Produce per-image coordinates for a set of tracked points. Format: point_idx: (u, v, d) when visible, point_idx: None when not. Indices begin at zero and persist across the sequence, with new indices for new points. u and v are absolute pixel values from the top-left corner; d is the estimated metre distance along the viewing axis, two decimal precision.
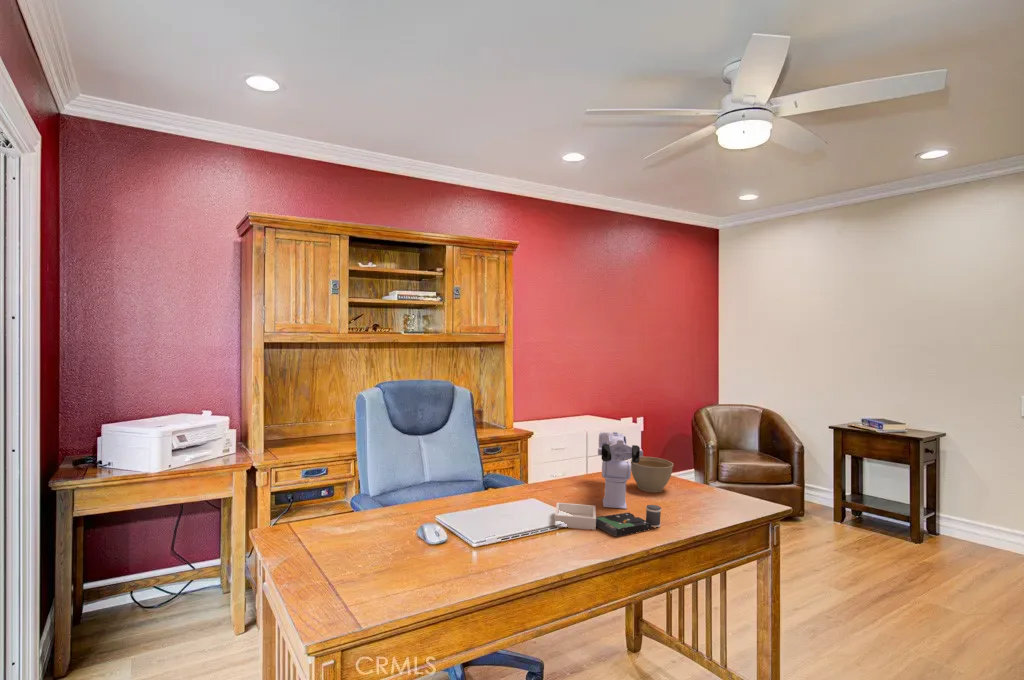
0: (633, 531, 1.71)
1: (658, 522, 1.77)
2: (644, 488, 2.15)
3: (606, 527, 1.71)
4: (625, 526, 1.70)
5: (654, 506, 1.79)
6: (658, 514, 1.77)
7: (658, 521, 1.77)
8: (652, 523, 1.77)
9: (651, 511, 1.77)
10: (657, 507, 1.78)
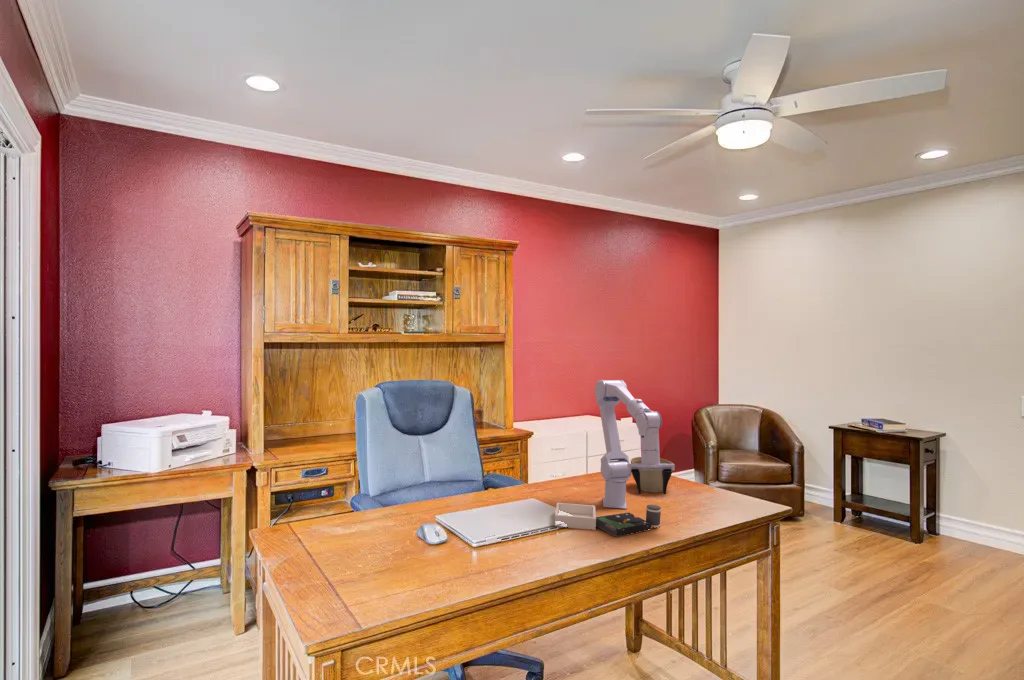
0: (633, 531, 1.71)
1: (658, 522, 1.77)
2: (644, 488, 2.15)
3: (606, 527, 1.71)
4: (625, 526, 1.70)
5: (654, 506, 1.79)
6: (658, 514, 1.77)
7: (658, 521, 1.77)
8: (652, 523, 1.77)
9: (651, 511, 1.77)
10: (657, 507, 1.78)
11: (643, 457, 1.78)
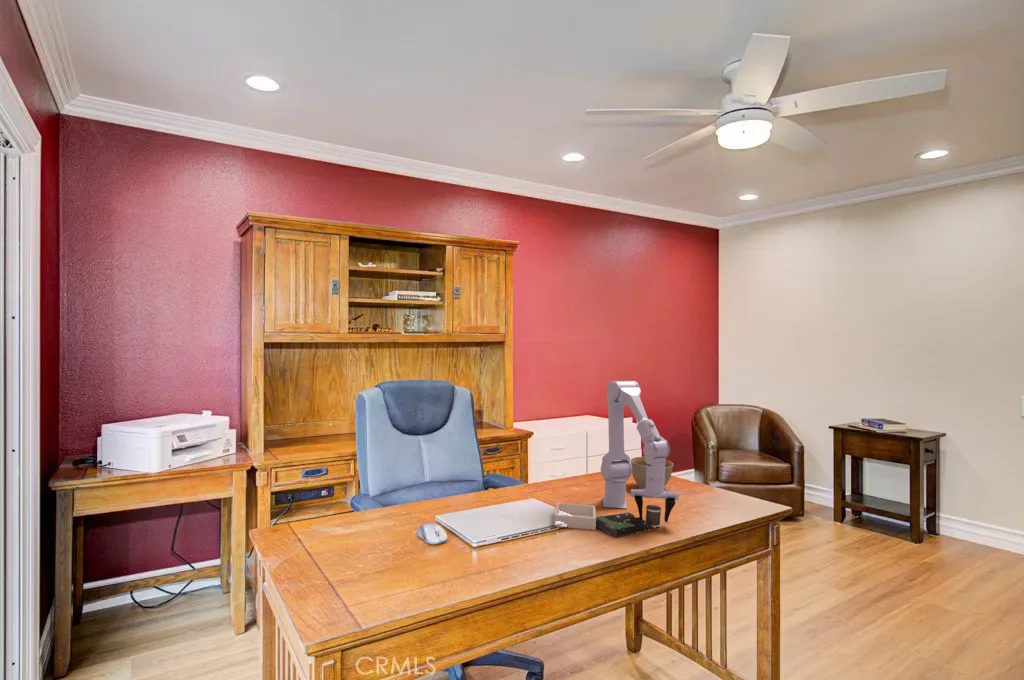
0: (633, 531, 1.71)
1: (658, 522, 1.77)
2: (644, 488, 2.15)
3: (606, 528, 1.71)
4: (625, 526, 1.70)
5: (654, 506, 1.79)
6: (658, 514, 1.77)
7: (658, 521, 1.77)
8: (652, 523, 1.77)
9: (651, 511, 1.77)
10: (657, 507, 1.78)
11: (648, 485, 1.77)
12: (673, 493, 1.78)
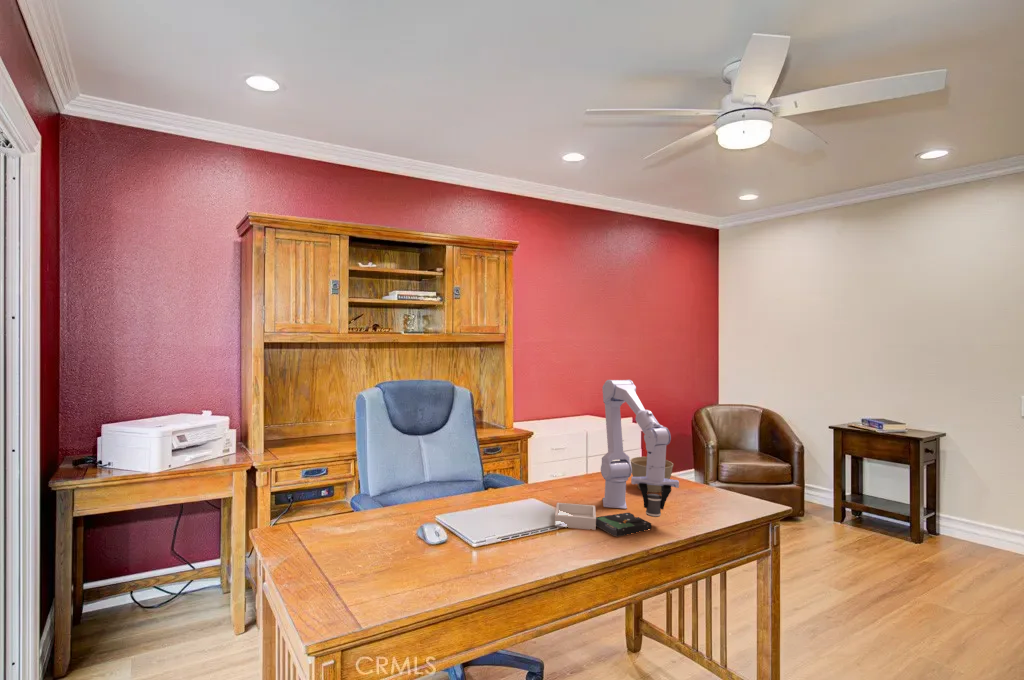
0: (633, 531, 1.71)
1: (658, 511, 1.77)
2: None
3: (606, 527, 1.71)
4: (625, 526, 1.70)
5: (654, 495, 1.79)
6: (658, 503, 1.77)
7: (658, 510, 1.77)
8: (652, 512, 1.77)
9: (651, 500, 1.77)
10: (657, 496, 1.78)
11: (648, 473, 1.77)
12: (673, 481, 1.78)
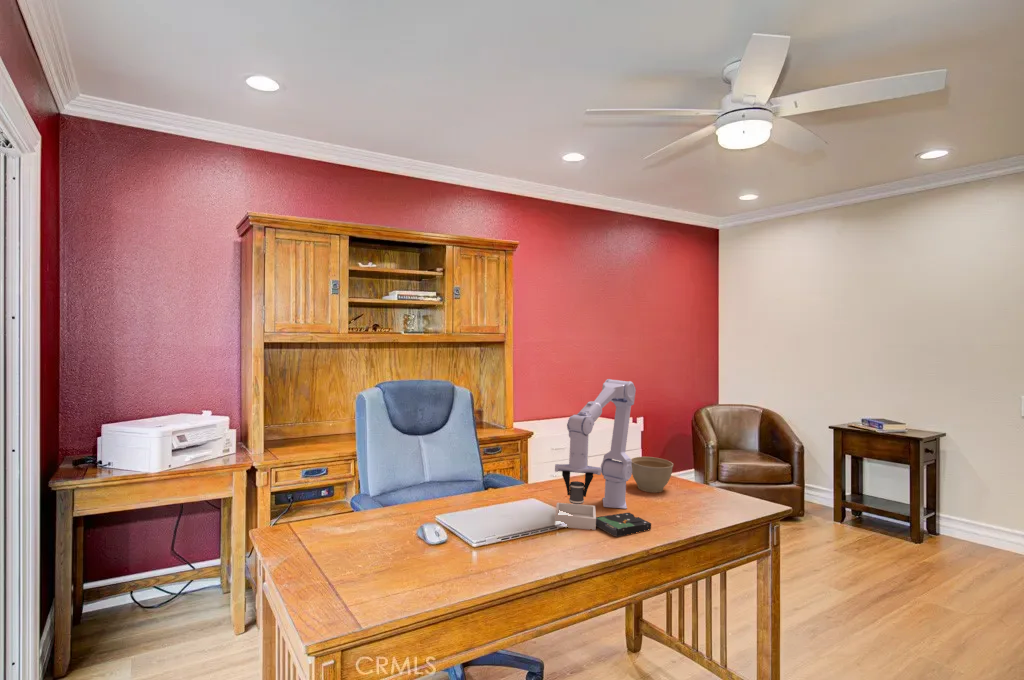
0: (633, 531, 1.71)
1: (581, 498, 1.78)
2: (644, 488, 2.15)
3: (606, 527, 1.71)
4: (625, 526, 1.70)
5: (578, 482, 1.80)
6: (581, 490, 1.78)
7: (581, 497, 1.78)
8: (575, 499, 1.78)
9: (573, 487, 1.78)
10: (580, 483, 1.79)
11: (570, 460, 1.78)
12: (596, 468, 1.79)
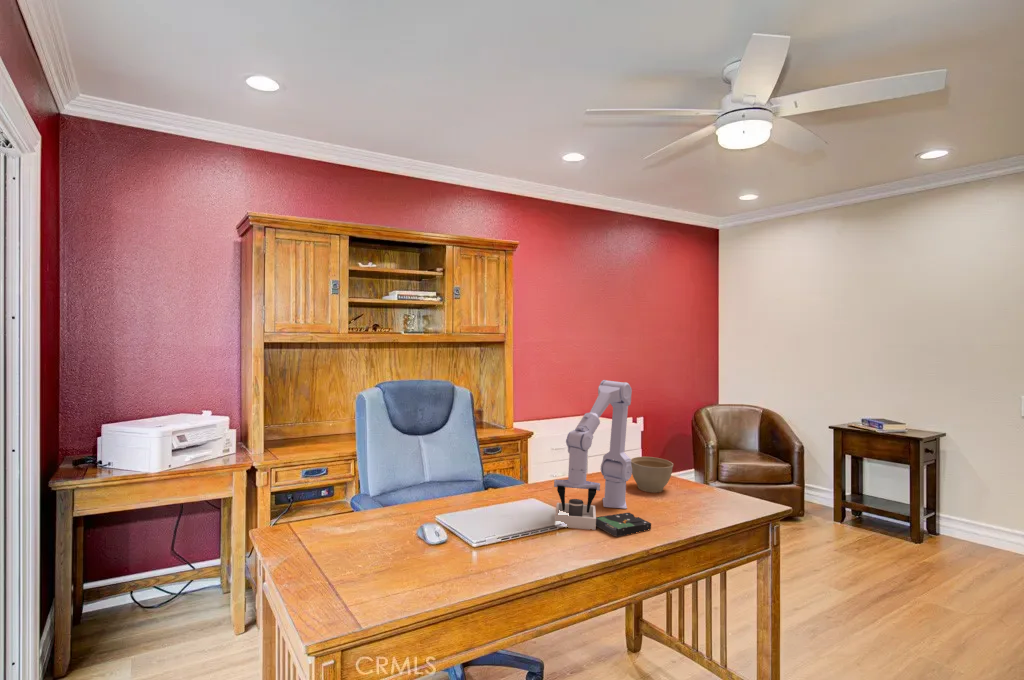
0: (633, 531, 1.71)
1: (580, 516, 1.78)
2: (644, 488, 2.15)
3: (606, 527, 1.71)
4: (625, 526, 1.70)
5: (577, 500, 1.80)
6: (580, 508, 1.78)
7: (580, 515, 1.78)
8: None
9: (572, 505, 1.78)
10: (579, 501, 1.79)
11: (569, 476, 1.78)
12: (595, 483, 1.79)
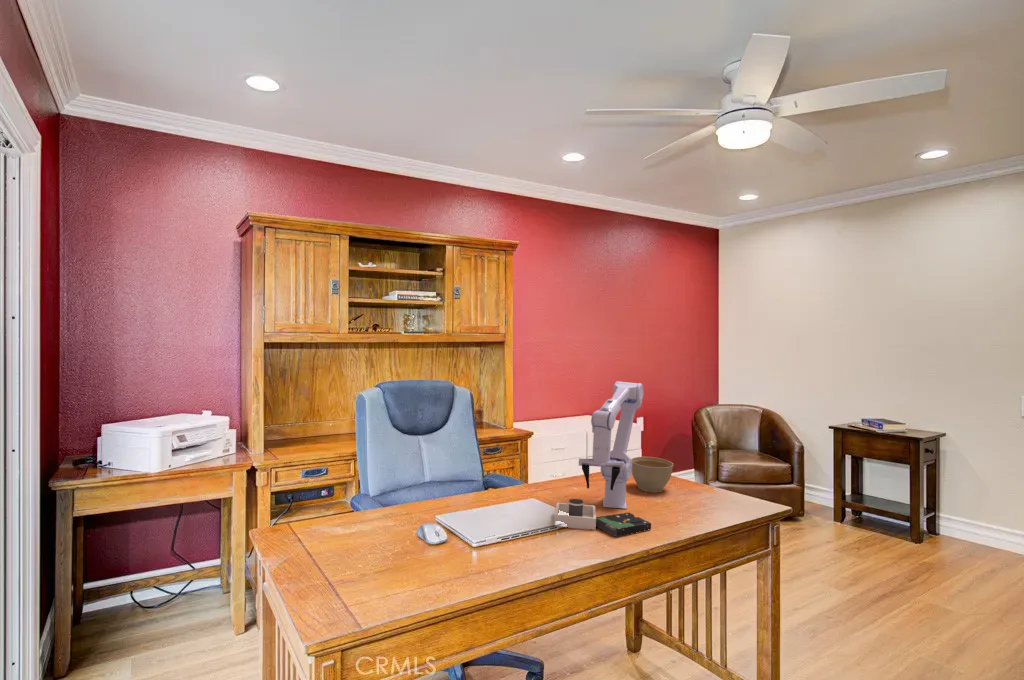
0: (633, 531, 1.71)
1: (580, 516, 1.78)
2: (644, 488, 2.15)
3: (606, 527, 1.71)
4: (625, 526, 1.70)
5: (577, 500, 1.80)
6: (580, 508, 1.78)
7: (580, 515, 1.78)
8: None
9: (572, 504, 1.78)
10: (579, 501, 1.80)
11: (594, 454, 1.83)
12: (619, 462, 1.83)
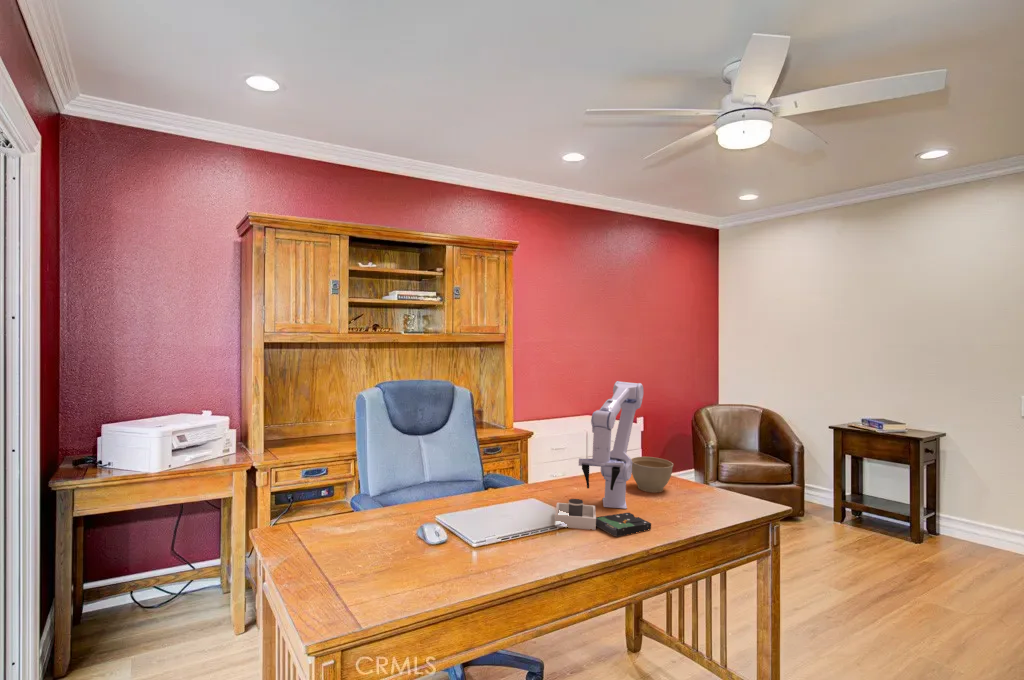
0: (633, 531, 1.71)
1: (580, 516, 1.78)
2: (644, 488, 2.15)
3: (606, 527, 1.71)
4: (625, 526, 1.70)
5: (577, 500, 1.80)
6: (579, 507, 1.78)
7: (580, 515, 1.78)
8: None
9: (572, 504, 1.78)
10: (579, 501, 1.80)
11: (594, 454, 1.83)
12: (619, 462, 1.83)
